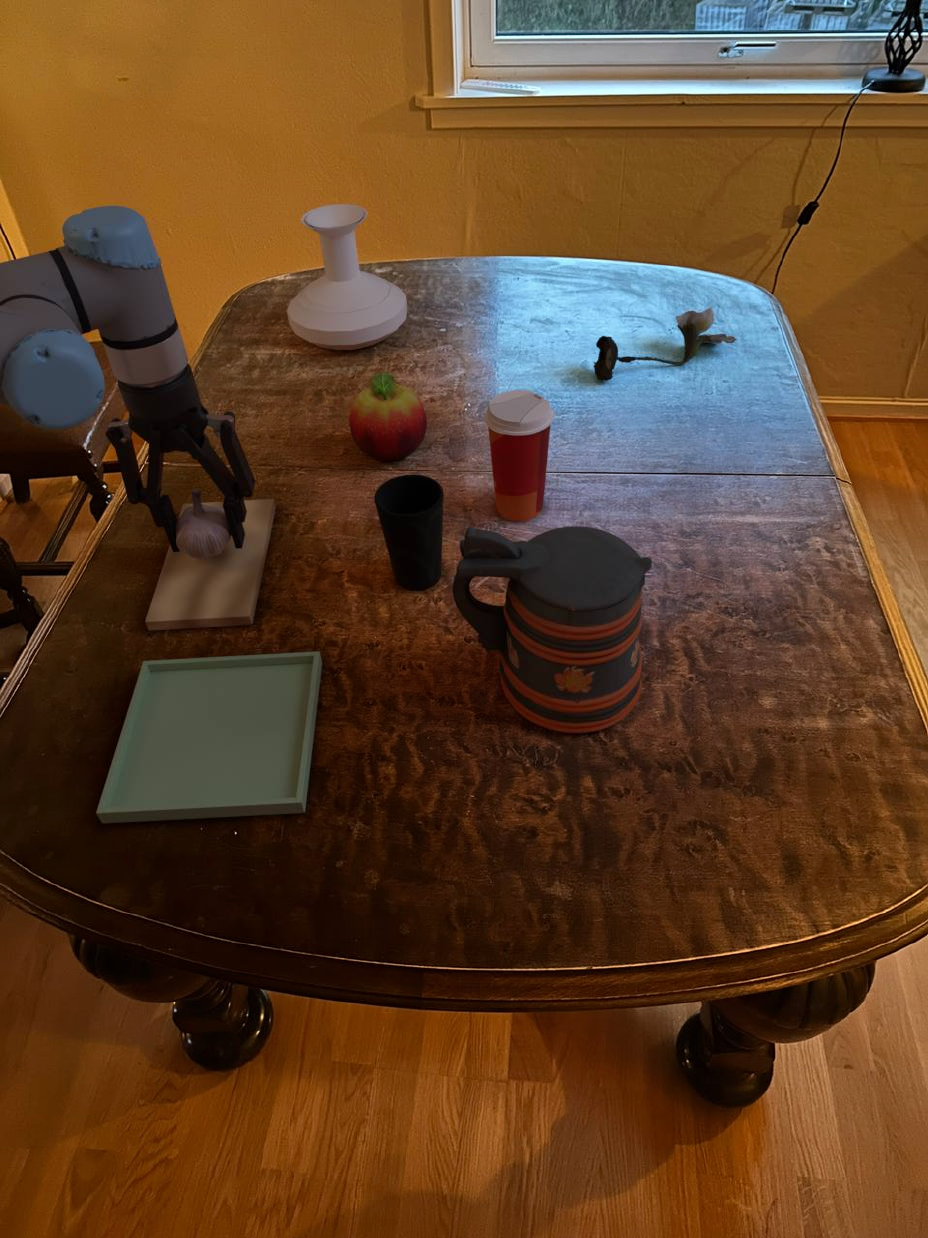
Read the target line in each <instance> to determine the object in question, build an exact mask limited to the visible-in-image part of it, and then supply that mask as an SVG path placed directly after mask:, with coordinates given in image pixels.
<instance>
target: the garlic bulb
mask: <svg viewBox="0 0 928 1238" xmlns="http://www.w3.org/2000/svg"><path fill="white" fill-rule="evenodd" d="M201 495H202V493H201V490H200V489H199V488H192V490H191V499H192V503H193V506H189V507H187V508H186V509H185V510H184V512H183V514H182V515H181V516H180V517H179V516H178V518H179V519H178V518H177V523H176V526H175V532H176V544H177V547H178V548H179V550H180V551H181V552H183V553H184V554H187V555H189V556H190V557H192V558H197V559H204V558H207V557H209V556H216V555H219V554H220V553H221V552H222V551H223V549H224V547H225V545H226V544H227V543H228V542H229V540H230V538H231V536H232V535H231V531H230V528H229V525H228V521H227V518H226V515H225V512H224V508H221V507H211V506H208V505H204V504H201V503H202V500H201V499H202V497H201Z"/></svg>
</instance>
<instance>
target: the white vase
mask: <svg viewBox="0 0 928 1238" xmlns="http://www.w3.org/2000/svg"><path fill="white" fill-rule="evenodd" d="M368 215H369V212H368V211H367V210H366V209H365V207H362V206H359V205H356V204H347V203H341V204H340V203H339V204H337V203H336V204H328V205H323V206H319V207H316V208H313V209H310V210H308V211H307V212H305V213H304V214H302V216H301V218H300V222H301V224H302V225H303V226H305V227H306V228H309V229H310V230H311V231H313V232H315V233H316V234H318V237H319V243H320V244H319V245H320V248H321V250H320V251H321V256H322V261H323V267H324V274H323V275H322V276H320V277H318V278H316V279H315V280H313V281H312V282H310V283H308V284H307V285H306V286H305V287H304V288H303V289H302V290H300V292H299V293H298V294H296V295H295V296H294V297H293V298H292V299H291V300H290V301H289V304H288V307H287V309H286V314H287V315H286V316H287V319H288V324H289V326H290V328H291V329H292V331H293V333H294V334H295V335H296V336H298V337H299V338H301V339H302V340H305V341H307V342H309V343H311V344H313V345H315V346H317V347H319V348H321V349H328V350H334V351H355V350H359V349H363V348H367V347H372V346H374V345H376V344H378V343H381V342H383V341H384V340H386V339H387V338H389V337H390V336H391V335H393V333H395V332H396V331H397V330H398V329H399V328H400V327H401V326H402V324H404V323H405V322H406V320H407V314H408V300H407V295H406V294H405V293H404V292H403V290H402V289H401V288H400V287H399V286H398V285H395V284H394V283H392V282H390V281H388V280H386V279H385V278H383V277H380V276H378V275H375V274H373V273H370V272H366V271H363V270H361V269H360V264H359V262H360V261H359V255H358V248H357V241H356V233H355V230H356V229H357V228H358V227H359V226H360V224H362V223H363V221H365V220H366V219H367V217H368Z"/></svg>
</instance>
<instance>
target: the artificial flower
mask: <svg viewBox="0 0 928 1238" xmlns="http://www.w3.org/2000/svg"><path fill="white" fill-rule="evenodd" d="M675 321H676V323H677V325H676V327H677V329H678V330H679V331H680V332H681V334H682V336H683V342H684V353H683V359H682V361H674V360H669V359H661V358H658V357H652V356H643V357H642V356H638V357H637V356H631V355H626V356H622V357H621V356H619V348H618V345H617V343H616V342H615V340H614V339H613V337H612V336H607V335H602V336H601V337H599V338H598V340H597V341H596V343H595V347H596V348H597V349H599V352H598V357H597V361H593V362H592V363H593V364H594V365H593V366H592V367H593V371H594V375H595V377H596V379H597V380H600V381H605V382H608V381H609V380H611V379H613V377H614V376H613V375H614V372H613V371H614V369H615V367H616V364H617V362H618V361H619V362H620V363H625V364H626V363H627V364H629V363H632V362H634V361H644V362H645V361H648V362H651V361H654V362H659V363H662V364H668V365H674V366H684V365H685V364H686V363H688V362H689V361H690V360H691V361H692V359H693V358H695V357H696V356H697V355H698V353H699V348H700V346H701V345H702V344H705V343H712V344H717V345H720V344H723V342H724V343H726V344H734V343H735V341H737V340H738V339H737V338H736V337H735V336H733V335H729V336H727V335H726V333H717V334H711V333H707V334H705V333H706V332H707V331H708V330H709V329H711V327H712V326H713V325H714V321H715V314H714V311H713V308H712V306H710V307H709V308H707V309H705V310H703V311H700V312H698V311H695V310H687V311H686V312H684V313H682V314H680V315H676V316H675ZM702 333H703V334H702Z"/></svg>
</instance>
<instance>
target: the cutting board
mask: <svg viewBox="0 0 928 1238" xmlns="http://www.w3.org/2000/svg"><path fill="white" fill-rule="evenodd" d="M223 502H224V501H211V502H209V501H208V502H201V504H204V505H208V506H211V507H221V508H223ZM244 503H245V506H246V510H247V513H246V518H245V522H242V524H243V528H244V531H245V538H244V542H243V546H242V548H240V549H236V548H235V545H234V541H233V538H232V536H231V538H230V540H229V542H228V543H227V544H226V545H225V547H224V549H223V551H222V552H221V553H220V554H219V555H216V556H209V557H207V558H204V559H197V558H192V557H190V556H189V555H187V554H184V553H183V552H181V551H179V552H173V551H172V548H171V545H170V544H169V547H168V549H167V552H166V556H165V559H164V562H163V565H162V568H161V571H160V574H159V577H158V580H157V583H156V586H155V590H154V593H153V595H152V599H151V601H150V604H149V608H148V612H147V615H146V617H145V621H144V623H145V625H146V628H147V630H148V631H150V632H151V631H166V630H184V629H186V630H187V629H203V628H206V629H207V628H220V627H221V628H222V627H239V626H240V627H241V626H253V623H254V619H255V614H256V609H257V603H258V599H259V594H260V589H261V583H262V579H263V578H262V577H263V573H264V569H265V564H266V558H267V554H268V548H269V543H270V538H271V533H272V529H273V523H274V518H275V514H276V510H277V509H276V508H277V506H276V502H275V499H274V498H263V499H262V498H260V499H244ZM189 506H193V502H192V503H183V504H182V506H181V509H180V511H179V514H178V515H179V516H178V518H177V520H178V519H179V517H180V516H181V515H182V514H183V512H184V510H185V509H186V508H187V507H189Z"/></svg>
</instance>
